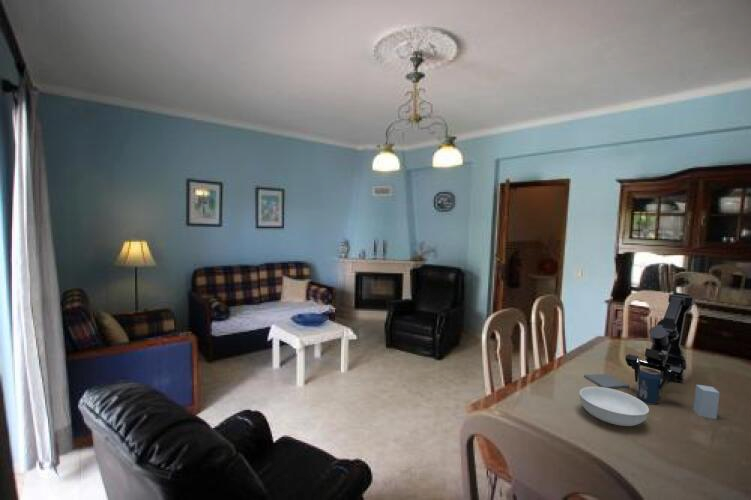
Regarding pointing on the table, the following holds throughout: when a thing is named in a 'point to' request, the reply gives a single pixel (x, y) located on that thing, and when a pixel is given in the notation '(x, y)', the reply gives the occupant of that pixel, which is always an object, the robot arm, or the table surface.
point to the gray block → (706, 401)
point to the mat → (606, 381)
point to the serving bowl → (613, 406)
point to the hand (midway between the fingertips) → (647, 385)
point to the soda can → (649, 386)
